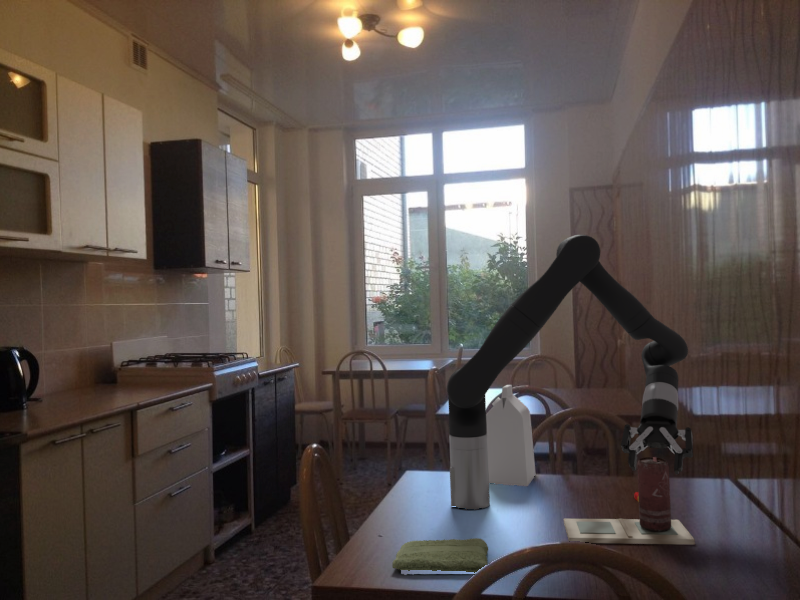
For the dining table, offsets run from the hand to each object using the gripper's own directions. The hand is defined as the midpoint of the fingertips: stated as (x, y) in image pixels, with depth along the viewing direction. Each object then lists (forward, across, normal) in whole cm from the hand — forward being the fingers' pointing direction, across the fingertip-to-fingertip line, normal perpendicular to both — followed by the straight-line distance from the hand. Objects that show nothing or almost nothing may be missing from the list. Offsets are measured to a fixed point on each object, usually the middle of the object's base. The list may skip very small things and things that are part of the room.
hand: (654, 470), depth 136 cm
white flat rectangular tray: (+12, -6, +6) cm, 14 cm away
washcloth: (+33, -34, -14) cm, 49 cm away
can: (+9, 0, +7) cm, 12 cm away
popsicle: (-3, -3, +22) cm, 22 cm away
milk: (-11, -42, +29) cm, 52 cm away
